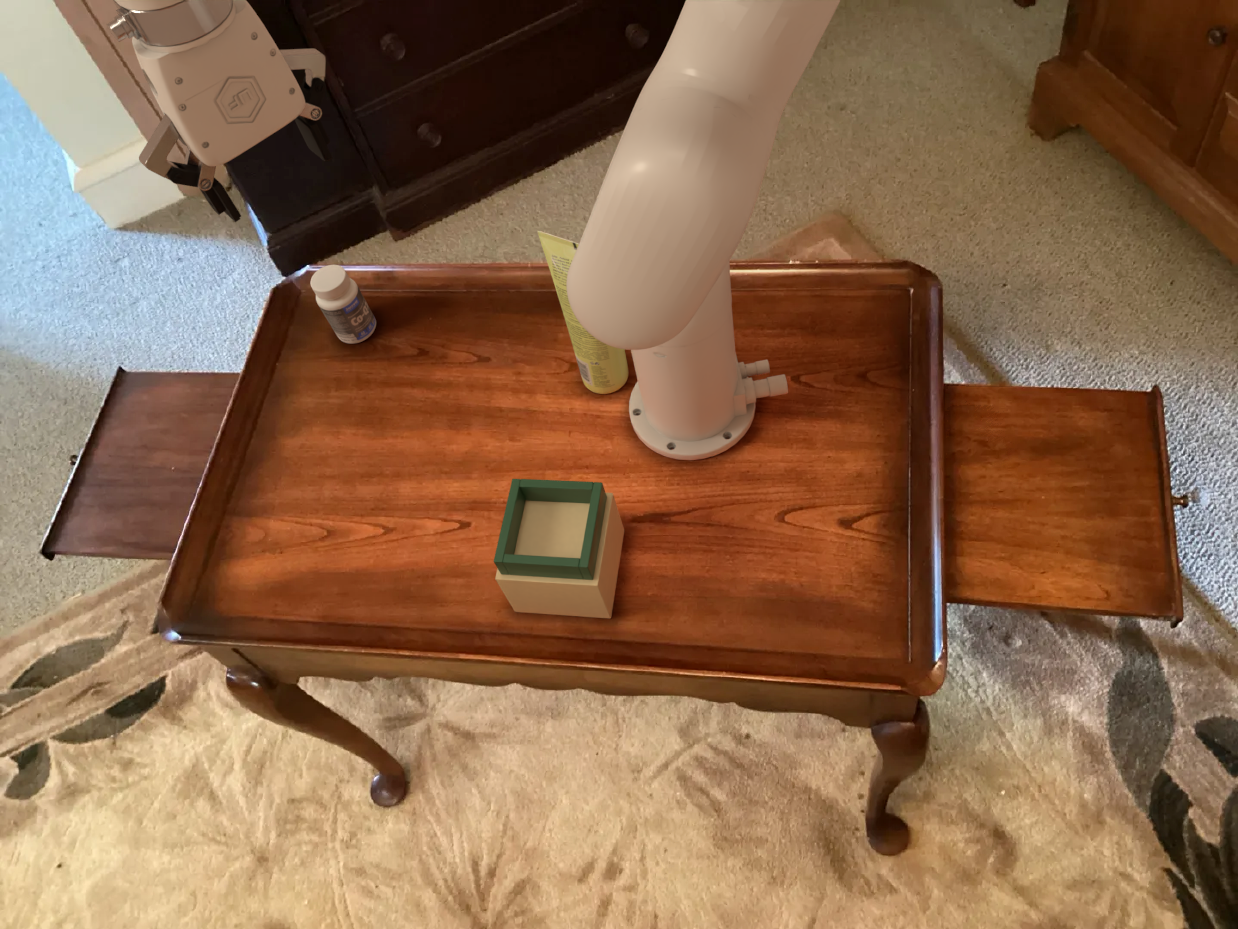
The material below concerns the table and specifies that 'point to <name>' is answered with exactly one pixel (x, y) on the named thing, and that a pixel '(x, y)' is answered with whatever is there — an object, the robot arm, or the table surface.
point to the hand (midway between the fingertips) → (276, 183)
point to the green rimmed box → (559, 548)
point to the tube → (594, 358)
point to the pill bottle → (343, 304)
